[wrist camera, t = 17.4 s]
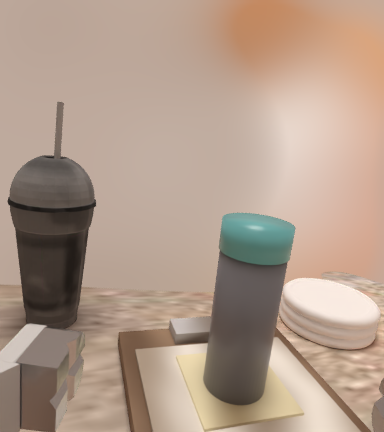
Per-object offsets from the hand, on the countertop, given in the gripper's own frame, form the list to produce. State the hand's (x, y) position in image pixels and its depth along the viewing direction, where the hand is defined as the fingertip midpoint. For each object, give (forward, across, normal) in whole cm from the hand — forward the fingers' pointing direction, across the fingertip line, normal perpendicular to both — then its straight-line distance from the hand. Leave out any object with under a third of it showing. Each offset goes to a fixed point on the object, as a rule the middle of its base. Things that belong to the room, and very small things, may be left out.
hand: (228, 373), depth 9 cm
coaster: (+27, -14, +13) cm, 33 cm away
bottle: (+13, -3, +11) cm, 18 cm away
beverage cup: (+21, +14, +13) cm, 29 cm away
